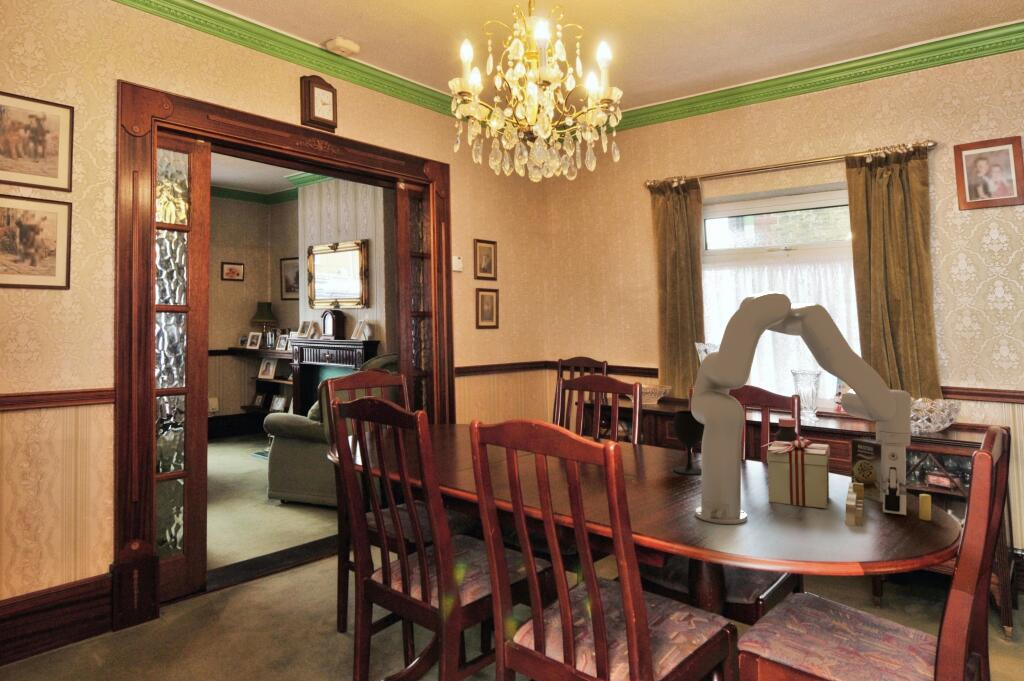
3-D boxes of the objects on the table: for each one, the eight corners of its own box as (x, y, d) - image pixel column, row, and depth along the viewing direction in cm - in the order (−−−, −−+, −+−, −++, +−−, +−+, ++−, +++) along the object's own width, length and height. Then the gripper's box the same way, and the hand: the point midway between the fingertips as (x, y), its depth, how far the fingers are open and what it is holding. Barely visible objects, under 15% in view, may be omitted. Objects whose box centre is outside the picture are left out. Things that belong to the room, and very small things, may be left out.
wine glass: (679, 466, 209) (679, 409, 209) (709, 470, 203) (709, 411, 203) (668, 472, 201) (668, 412, 201) (699, 476, 195) (699, 415, 194)
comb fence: (861, 526, 146) (862, 497, 146) (845, 524, 148) (845, 495, 147) (863, 502, 166) (864, 476, 166) (849, 500, 168) (849, 475, 168)
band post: (931, 520, 150) (931, 497, 150) (919, 519, 151) (919, 495, 151) (930, 518, 152) (930, 494, 152) (919, 516, 153) (919, 493, 153)
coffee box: (850, 494, 174) (850, 439, 174) (865, 491, 177) (865, 437, 176) (880, 502, 166) (880, 444, 165) (895, 500, 168) (896, 442, 168)
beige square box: (906, 514, 152) (906, 491, 152) (882, 511, 154) (882, 488, 154) (905, 510, 155) (905, 487, 155) (882, 507, 158) (882, 485, 158)
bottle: (794, 480, 190) (794, 417, 190) (802, 485, 184) (802, 420, 183) (771, 479, 191) (772, 417, 191) (779, 485, 184) (779, 420, 184)
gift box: (760, 488, 181) (760, 431, 180) (829, 495, 173) (829, 436, 172) (756, 503, 165) (756, 441, 165) (831, 512, 157) (832, 446, 157)
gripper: (911, 444, 146) (911, 519, 146) (908, 434, 160) (908, 502, 160) (875, 441, 150) (874, 514, 150) (875, 431, 164) (875, 498, 164)
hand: (892, 507), depth 155 cm, fingers closed on beige square box, 4 cm apart
